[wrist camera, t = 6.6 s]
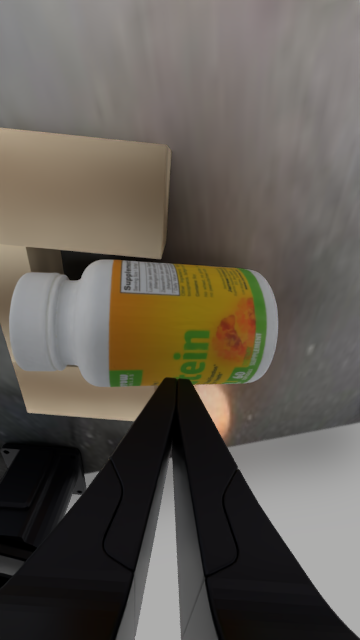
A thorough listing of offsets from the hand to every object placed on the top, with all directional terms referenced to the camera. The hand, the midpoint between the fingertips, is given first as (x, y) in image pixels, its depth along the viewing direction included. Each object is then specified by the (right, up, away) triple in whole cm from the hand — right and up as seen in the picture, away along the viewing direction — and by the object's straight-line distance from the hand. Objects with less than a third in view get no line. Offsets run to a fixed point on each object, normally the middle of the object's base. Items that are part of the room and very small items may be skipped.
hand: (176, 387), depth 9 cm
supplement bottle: (+4, +2, +4) cm, 6 cm away
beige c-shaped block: (-5, +4, +6) cm, 8 cm away
